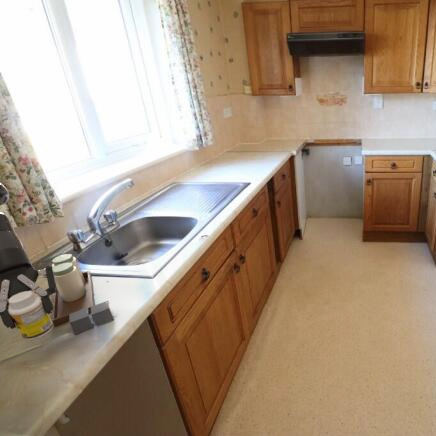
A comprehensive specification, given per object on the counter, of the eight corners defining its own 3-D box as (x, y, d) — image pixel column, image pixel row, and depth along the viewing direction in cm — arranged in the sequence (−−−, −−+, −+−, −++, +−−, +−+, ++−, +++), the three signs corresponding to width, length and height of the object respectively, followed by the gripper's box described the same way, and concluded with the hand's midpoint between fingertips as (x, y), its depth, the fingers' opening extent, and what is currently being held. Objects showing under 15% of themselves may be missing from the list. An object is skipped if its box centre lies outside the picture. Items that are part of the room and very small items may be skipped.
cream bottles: (62, 304, 92) (48, 275, 88) (63, 284, 101) (50, 257, 97) (86, 296, 95) (74, 267, 91) (85, 277, 104) (73, 250, 100)
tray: (54, 328, 84) (50, 321, 83) (57, 288, 100) (53, 281, 99) (96, 313, 89) (93, 306, 88) (92, 277, 105) (89, 270, 104)
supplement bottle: (24, 330, 75) (4, 295, 70) (54, 320, 78) (37, 285, 73) (22, 345, 71) (1, 308, 66) (54, 333, 74) (36, 297, 69)
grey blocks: (75, 335, 82) (69, 322, 80) (75, 326, 85) (69, 314, 83) (114, 320, 86) (109, 308, 85) (112, 312, 89) (108, 300, 87)
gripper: (-49, 262, 66) (-19, 334, 64) (40, 237, 76) (69, 299, 73) (-36, 273, 72) (-8, 341, 69) (45, 249, 81) (72, 307, 79)
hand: (32, 319), depth 71 cm, fingers closed on supplement bottle, 5 cm apart
